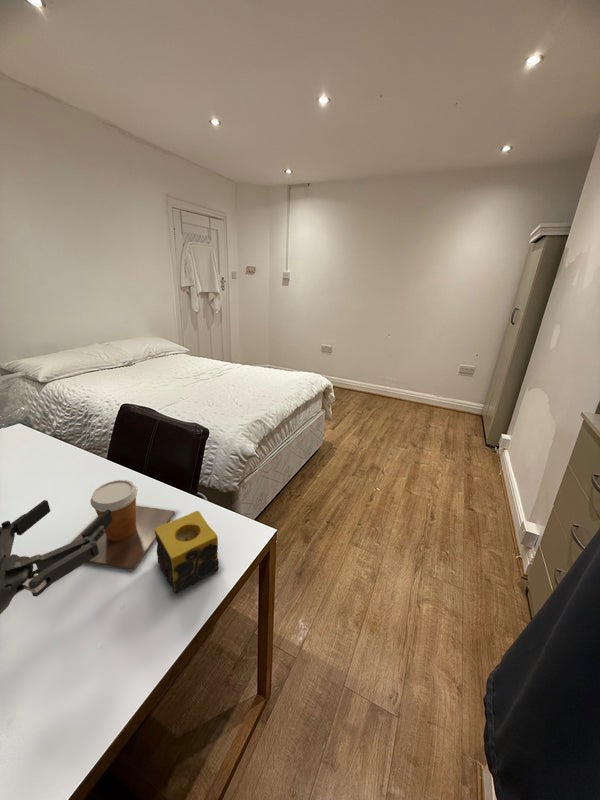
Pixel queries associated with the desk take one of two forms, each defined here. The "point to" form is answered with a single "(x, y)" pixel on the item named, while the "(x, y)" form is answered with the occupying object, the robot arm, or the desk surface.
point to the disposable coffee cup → (117, 507)
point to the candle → (186, 551)
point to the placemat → (130, 540)
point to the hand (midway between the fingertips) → (78, 510)
